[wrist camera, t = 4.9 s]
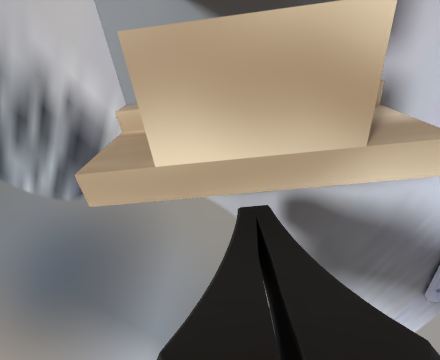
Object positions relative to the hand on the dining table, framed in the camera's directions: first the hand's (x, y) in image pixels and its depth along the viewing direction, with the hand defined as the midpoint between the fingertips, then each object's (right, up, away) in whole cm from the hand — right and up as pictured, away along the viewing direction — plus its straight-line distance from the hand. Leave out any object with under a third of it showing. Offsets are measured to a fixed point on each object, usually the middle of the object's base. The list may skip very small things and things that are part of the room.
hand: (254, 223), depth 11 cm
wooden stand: (-1, +6, 0) cm, 6 cm away
